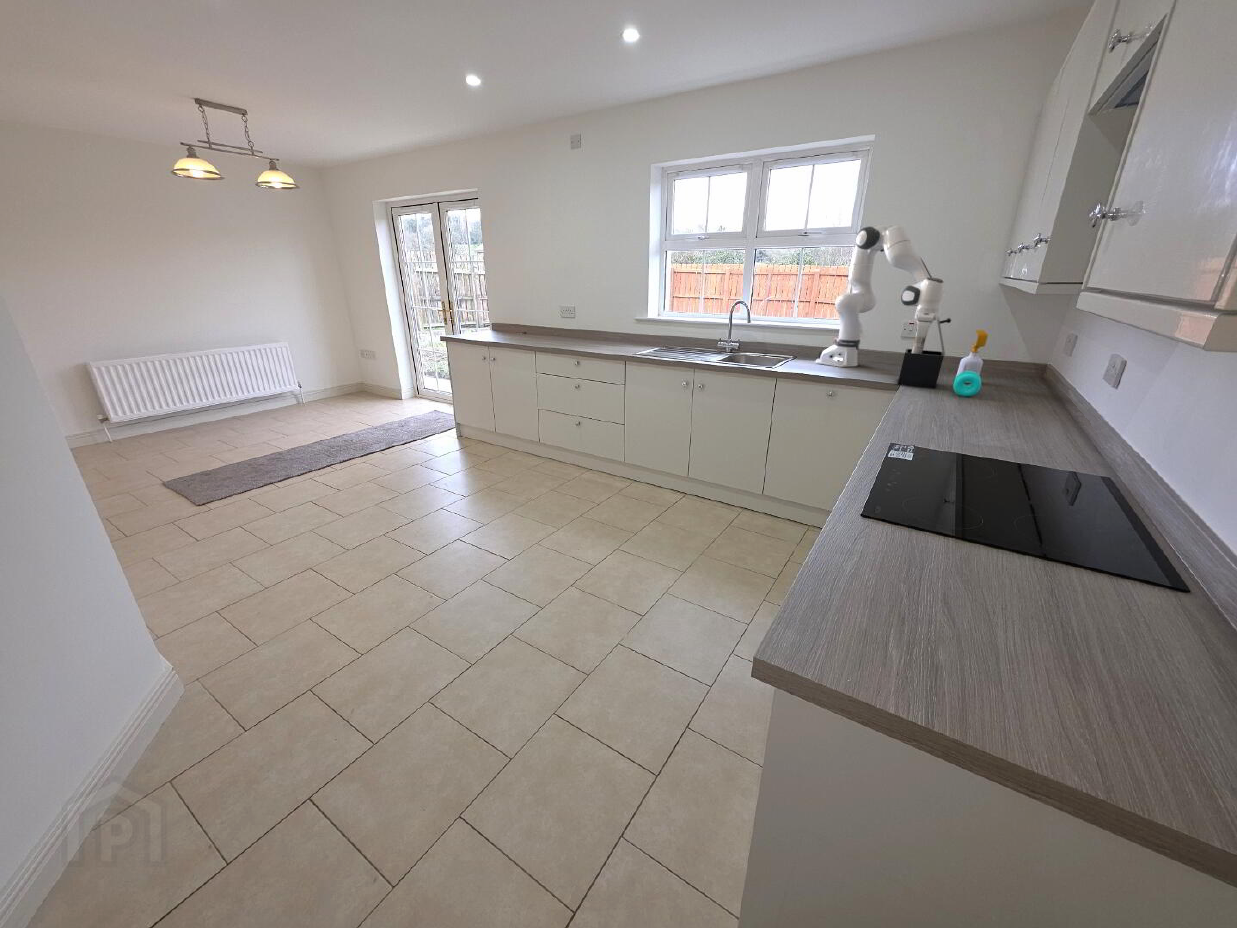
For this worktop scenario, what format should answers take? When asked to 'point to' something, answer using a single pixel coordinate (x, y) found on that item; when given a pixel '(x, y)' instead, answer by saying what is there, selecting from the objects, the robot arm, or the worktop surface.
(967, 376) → the donuts
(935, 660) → the worktop surface
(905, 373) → the black box
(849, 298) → the robot arm
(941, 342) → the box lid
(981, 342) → the soap bottle
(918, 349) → the sprinkles bottle
